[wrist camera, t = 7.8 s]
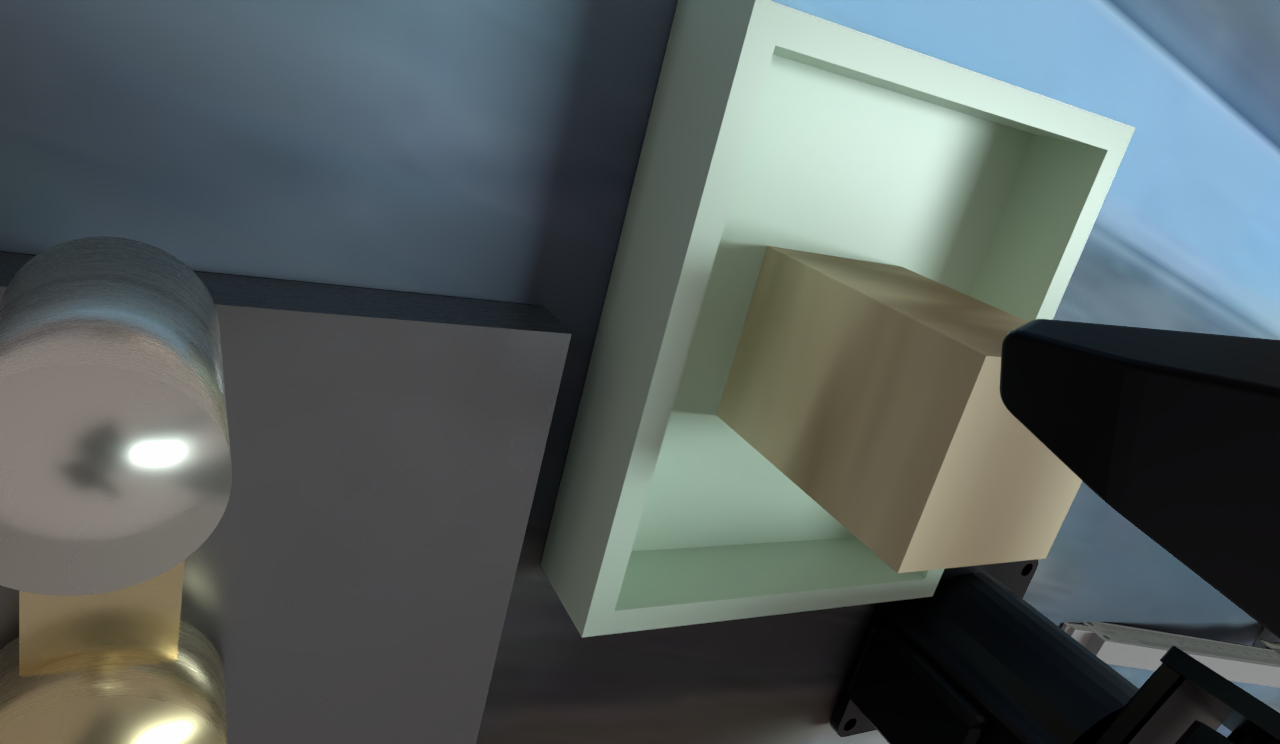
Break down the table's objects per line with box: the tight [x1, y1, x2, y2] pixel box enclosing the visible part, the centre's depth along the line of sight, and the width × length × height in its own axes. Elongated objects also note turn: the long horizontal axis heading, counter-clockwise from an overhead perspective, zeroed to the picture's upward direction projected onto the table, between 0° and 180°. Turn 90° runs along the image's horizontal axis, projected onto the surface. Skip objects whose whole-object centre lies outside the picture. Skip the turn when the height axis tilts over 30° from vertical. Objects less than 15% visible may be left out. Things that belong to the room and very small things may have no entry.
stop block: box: [717, 246, 1082, 573], centre depth 17 cm, size 4×4×6 cm
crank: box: [0, 237, 232, 744], centre depth 11 cm, size 10×4×5 cm, turn 164°
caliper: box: [1061, 622, 1280, 688], centre depth 35 cm, size 20×1×6 cm, turn 68°
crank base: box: [0, 252, 572, 744], centre depth 14 cm, size 15×14×2 cm
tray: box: [540, 0, 1135, 638], centre depth 19 cm, size 10×12×2 cm
